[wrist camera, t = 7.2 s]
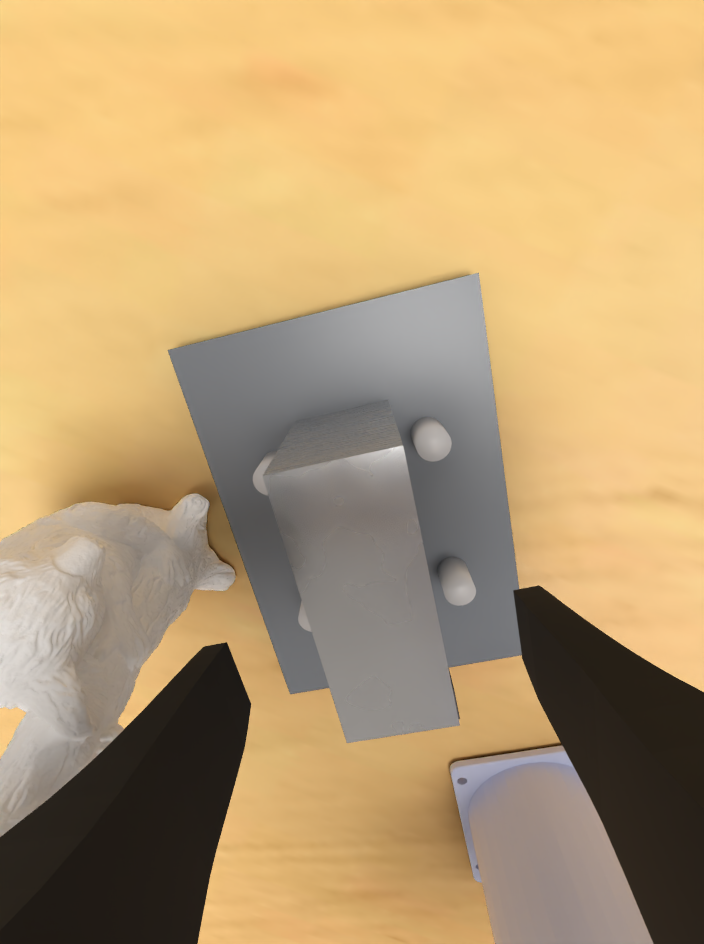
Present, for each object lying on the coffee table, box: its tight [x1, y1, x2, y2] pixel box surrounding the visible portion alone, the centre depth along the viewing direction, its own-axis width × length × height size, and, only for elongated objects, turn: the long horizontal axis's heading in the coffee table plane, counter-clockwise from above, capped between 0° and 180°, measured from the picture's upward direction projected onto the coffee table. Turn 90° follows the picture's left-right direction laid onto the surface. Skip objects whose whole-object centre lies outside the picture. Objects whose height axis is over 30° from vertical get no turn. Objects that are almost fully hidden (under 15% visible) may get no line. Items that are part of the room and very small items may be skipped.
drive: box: [262, 400, 460, 743], centre depth 15 cm, size 9×4×6 cm, turn 13°
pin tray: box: [168, 273, 522, 694], centre depth 18 cm, size 16×11×3 cm
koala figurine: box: [0, 493, 236, 837], centre depth 14 cm, size 8×7×12 cm
